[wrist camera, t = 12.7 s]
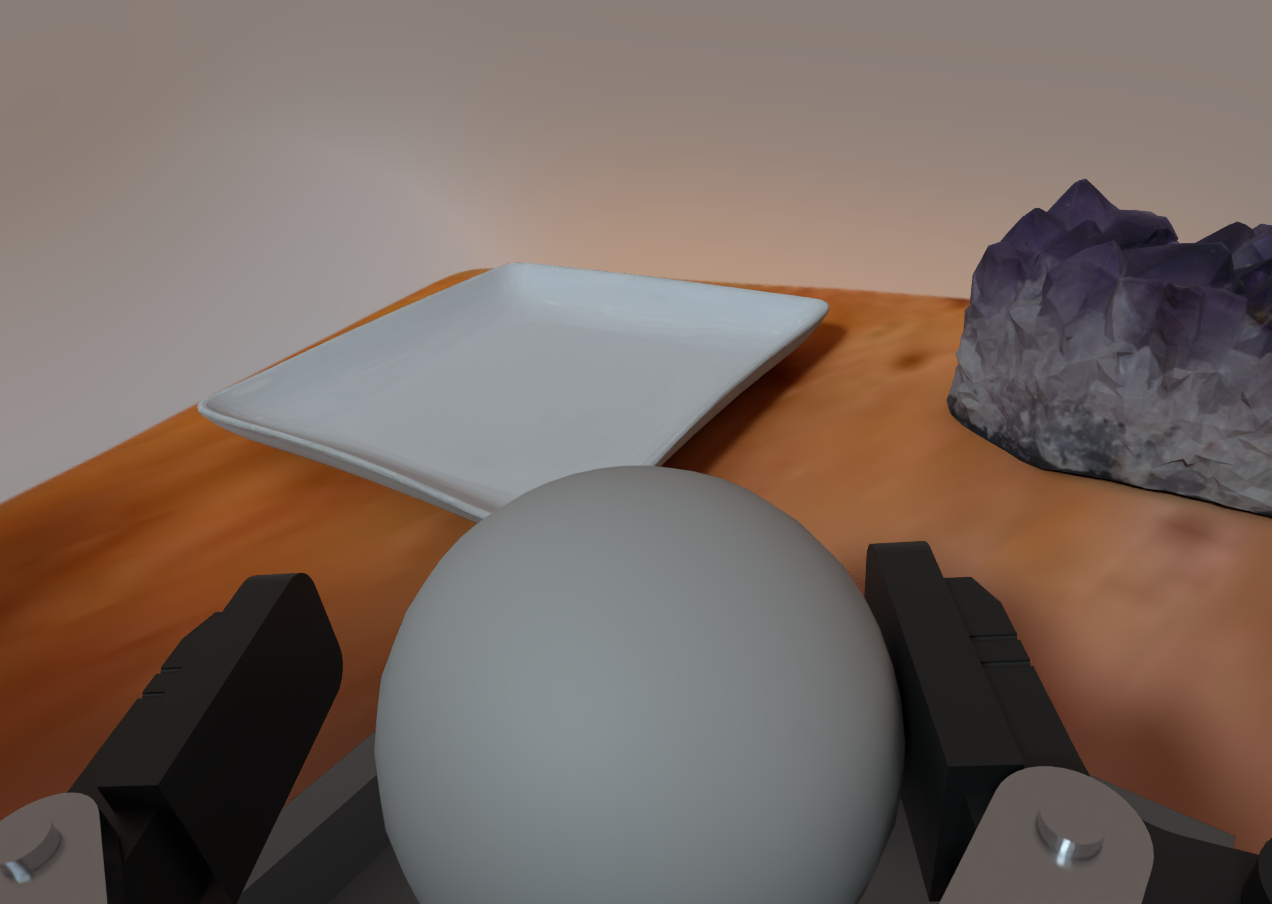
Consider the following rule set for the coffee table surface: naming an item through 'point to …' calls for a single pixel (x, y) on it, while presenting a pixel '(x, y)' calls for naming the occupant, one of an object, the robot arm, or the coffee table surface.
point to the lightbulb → (639, 705)
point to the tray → (383, 900)
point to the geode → (1124, 351)
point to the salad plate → (519, 381)
